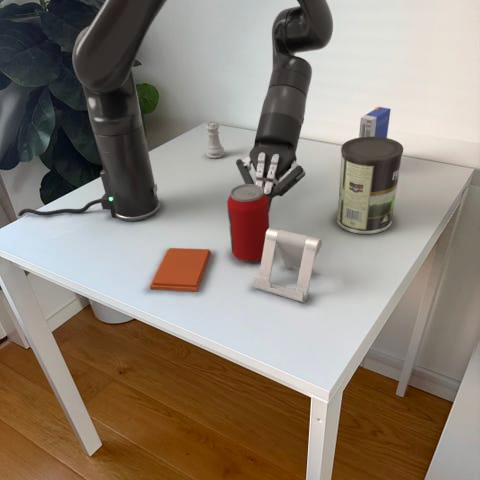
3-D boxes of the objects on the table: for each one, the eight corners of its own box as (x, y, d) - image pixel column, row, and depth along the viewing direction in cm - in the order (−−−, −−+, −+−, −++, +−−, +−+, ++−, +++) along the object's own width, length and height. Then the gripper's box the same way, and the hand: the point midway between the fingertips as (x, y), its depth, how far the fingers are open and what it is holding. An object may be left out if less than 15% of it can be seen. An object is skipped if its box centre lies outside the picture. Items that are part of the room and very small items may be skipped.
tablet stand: (253, 290, 77) (250, 246, 72) (276, 264, 82) (275, 221, 77) (302, 305, 74) (303, 259, 68) (322, 277, 79) (325, 233, 73)
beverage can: (249, 239, 89) (245, 178, 81) (277, 251, 85) (276, 188, 77) (224, 256, 85) (217, 193, 78) (252, 269, 82) (248, 205, 74)
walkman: (373, 158, 111) (379, 104, 103) (383, 161, 110) (391, 107, 102) (354, 171, 107) (359, 116, 99) (365, 174, 106) (371, 118, 98)
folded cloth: (150, 289, 80) (149, 283, 79) (168, 252, 88) (167, 246, 87) (197, 291, 78) (196, 285, 77) (211, 253, 86) (210, 248, 85)
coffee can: (391, 207, 94) (402, 135, 85) (392, 236, 86) (405, 160, 77) (337, 206, 96) (342, 135, 87) (334, 233, 88) (339, 159, 79)
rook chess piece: (228, 153, 119) (225, 120, 114) (218, 160, 117) (214, 127, 111) (213, 150, 121) (209, 118, 116) (203, 157, 119) (199, 124, 113)
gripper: (239, 108, 83) (217, 205, 83) (313, 112, 79) (289, 216, 79) (253, 127, 90) (232, 217, 90) (321, 132, 86) (299, 227, 86)
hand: (259, 216), depth 84 cm, fingers closed
